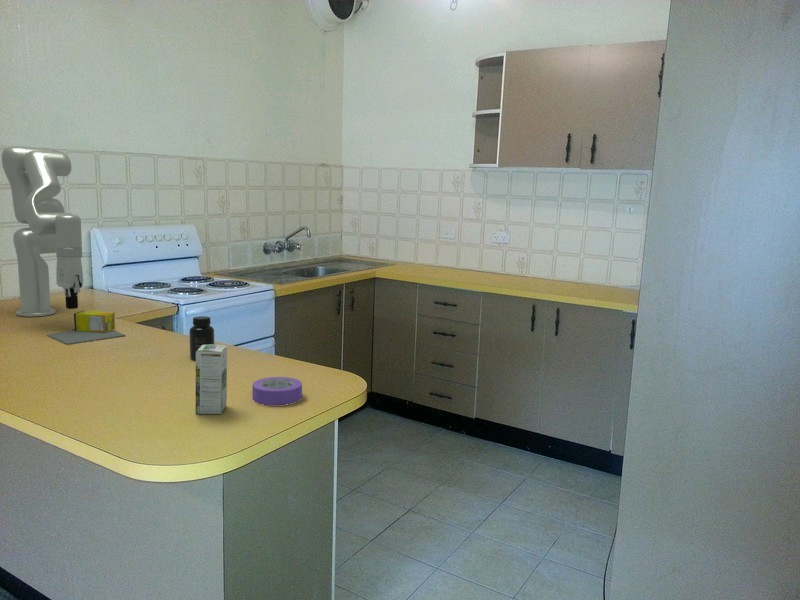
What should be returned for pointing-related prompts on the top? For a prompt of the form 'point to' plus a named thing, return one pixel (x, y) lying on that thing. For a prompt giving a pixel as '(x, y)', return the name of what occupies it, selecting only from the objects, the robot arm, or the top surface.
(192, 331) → the supplement bottle
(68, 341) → the mat
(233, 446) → the top surface
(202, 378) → the syrup box
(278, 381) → the masking tape
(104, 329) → the supplement box
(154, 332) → the top surface
